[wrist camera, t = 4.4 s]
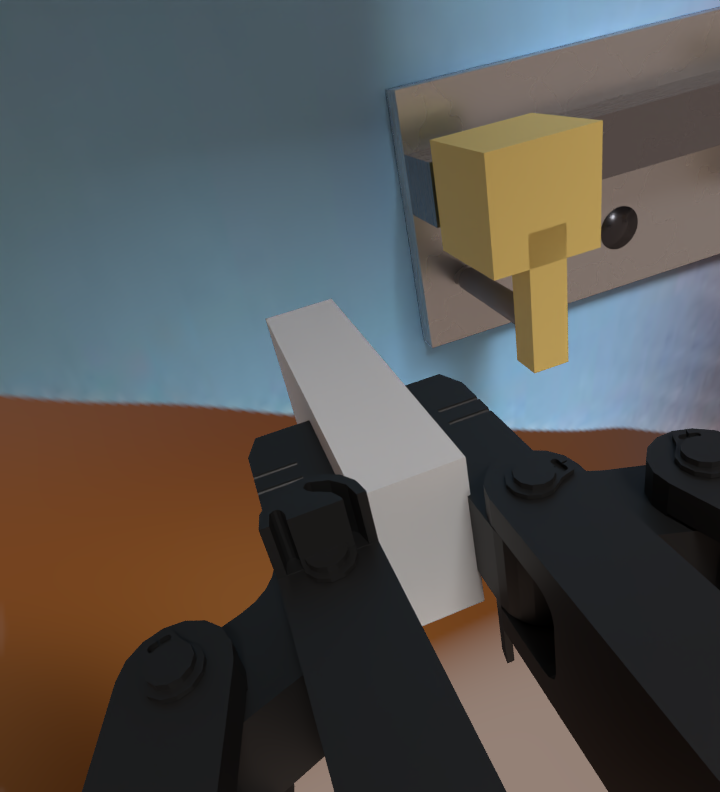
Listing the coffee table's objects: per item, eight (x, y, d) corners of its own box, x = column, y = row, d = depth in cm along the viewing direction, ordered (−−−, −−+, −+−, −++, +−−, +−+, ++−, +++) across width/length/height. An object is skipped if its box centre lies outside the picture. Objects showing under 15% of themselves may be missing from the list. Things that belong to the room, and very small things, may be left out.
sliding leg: (431, 322, 27) (502, 384, 22) (404, 133, 23) (484, 152, 18) (511, 296, 28) (599, 350, 22) (498, 109, 24) (603, 120, 18)
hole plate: (423, 340, 29) (505, 418, 23) (385, 89, 23) (479, 97, 17) (826, 209, 33) (994, 243, 27) (876, -33, 27) (1107, -65, 21)
